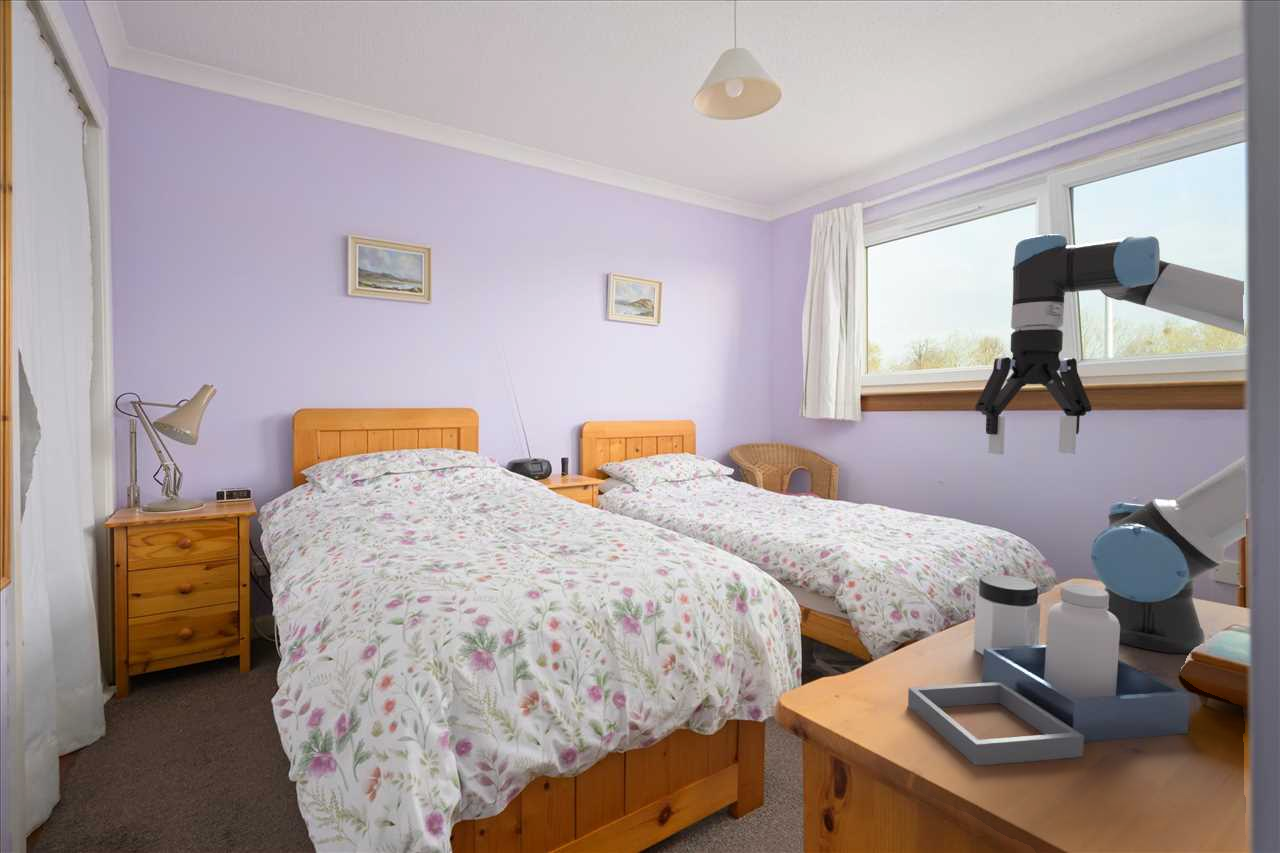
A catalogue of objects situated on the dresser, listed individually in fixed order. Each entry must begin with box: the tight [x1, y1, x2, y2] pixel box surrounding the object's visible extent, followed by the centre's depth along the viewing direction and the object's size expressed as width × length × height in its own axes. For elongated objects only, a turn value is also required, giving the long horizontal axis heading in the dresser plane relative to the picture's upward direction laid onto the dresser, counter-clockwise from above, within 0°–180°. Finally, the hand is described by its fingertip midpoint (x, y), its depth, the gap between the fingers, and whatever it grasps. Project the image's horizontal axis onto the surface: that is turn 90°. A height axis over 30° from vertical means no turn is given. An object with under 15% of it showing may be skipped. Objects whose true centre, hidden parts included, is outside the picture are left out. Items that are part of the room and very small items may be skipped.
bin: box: [981, 644, 1191, 743], centre depth 84 cm, size 16×16×5 cm
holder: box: [907, 682, 1085, 767], centre depth 78 cm, size 14×14×2 cm
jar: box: [973, 574, 1041, 656], centre depth 100 cm, size 9×8×12 cm
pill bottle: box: [1044, 583, 1120, 699], centre depth 84 cm, size 8×8×15 cm
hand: (1031, 453), depth 108 cm, fingers open, 13 cm apart
